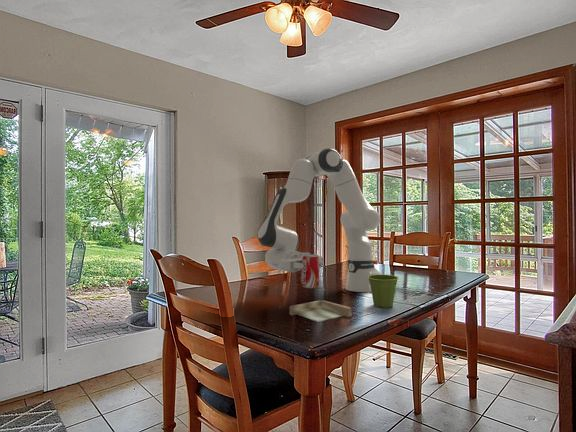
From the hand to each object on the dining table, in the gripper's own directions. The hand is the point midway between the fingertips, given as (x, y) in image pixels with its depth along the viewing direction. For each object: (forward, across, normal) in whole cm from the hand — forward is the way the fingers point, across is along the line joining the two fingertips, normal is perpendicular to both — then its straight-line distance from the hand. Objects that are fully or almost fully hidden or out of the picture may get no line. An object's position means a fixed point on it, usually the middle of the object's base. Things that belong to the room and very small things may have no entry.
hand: (312, 265), depth 133 cm
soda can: (-1, 0, +8) cm, 9 cm away
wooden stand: (+7, -2, +17) cm, 19 cm away
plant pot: (+12, +26, +17) cm, 33 cm away
